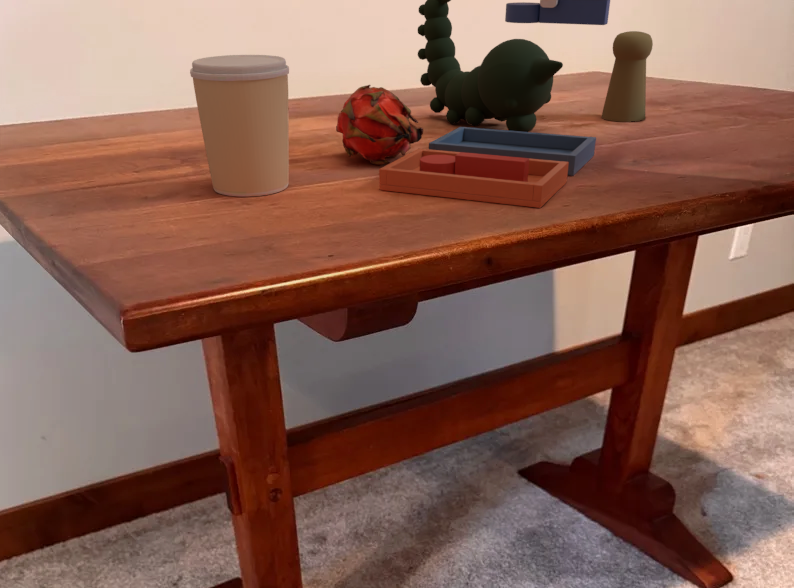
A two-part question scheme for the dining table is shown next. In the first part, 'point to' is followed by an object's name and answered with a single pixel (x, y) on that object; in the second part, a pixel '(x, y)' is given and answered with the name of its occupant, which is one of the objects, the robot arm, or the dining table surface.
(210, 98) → the coffee cup
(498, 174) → the red spoon
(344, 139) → the dragon fruit
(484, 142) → the blue tray
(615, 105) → the olive knobbed cone
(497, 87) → the toy figurine
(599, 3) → the blue spoon
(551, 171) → the red tray
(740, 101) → the dining table surface
